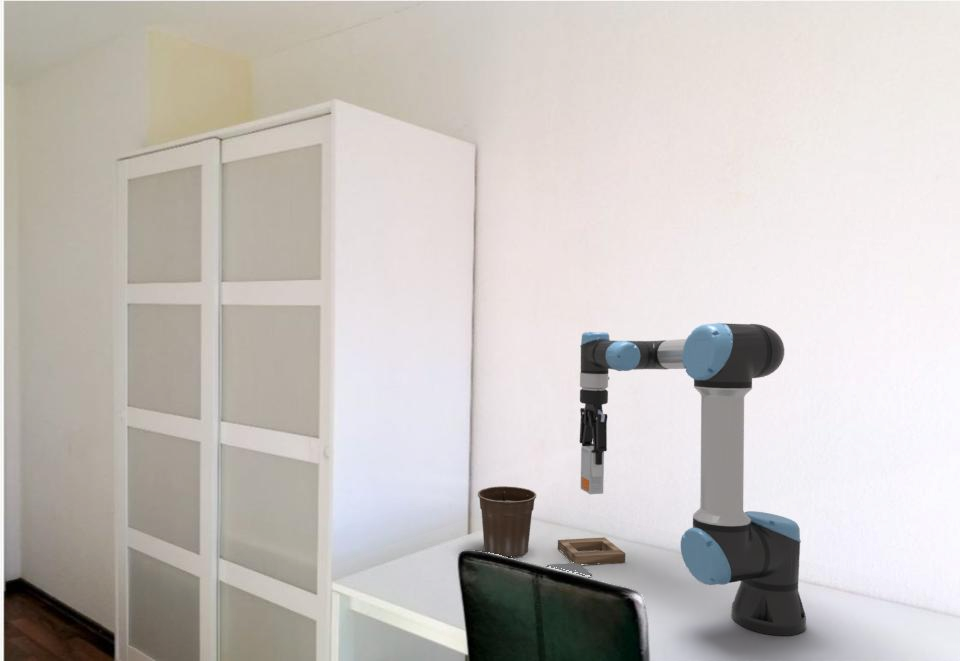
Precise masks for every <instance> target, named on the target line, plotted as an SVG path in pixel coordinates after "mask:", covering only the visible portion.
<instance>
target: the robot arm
mask: <svg viewBox="0 0 960 661" xmlns="http://www.w3.org/2000/svg"><path fill="white" fill-rule="evenodd" d="M580 340H581V342H580V372H579V387H580V388H581V389H579V403H581V404H584V407H581V408H580V409H579V410H580V411H579V412H580V422H579V423H580V424H579V425H580V427H579V443H580V444H581V447H582V446H593V448H594V450H592V451H591V452H592V477H602V461H603V452H604V453H605V452H607V450H608V448H607V446H608V444H607V443H608V439H607V438H608V436H607V430H608V428H607V426H608V425H607V424H608V423H607V422H608V414H607V413H604V410H603V405H606V404H608V401H609V391H608V390H607V388H609V380H610V376H609V370H615V371H617V372H625V371H626V372H629V371H632V370H633V371H635V370H685V372H686V374H687V376H689V377H690V378H692V379H693V388H694V389H695V390H696V391H697V392H698V393H699V394H700V396H701V399H700V400H701V402H700V406H701V407H700V410H701V411H700V420H701V421H700V496H699V497H700V500H699V501H700V505H699V506H700V507H699V508H698V510H696V511H695V512H694V513H693V514H692V527H690V528H688V529H687V530H685V531H684V533H683V534H682V536H681V539H680V552H681V557H682V559H683V562H684V565H685V567H686V568H687V569H688V571H689V573H690V574H691V576H693V578H695V579H696V580H697V581H698V582H700V583H702V584H704V585H708V586H715V585H719V586H724V585H727V584H731V583H736V582H740V583H739V586H738V588H737V590H736V594H735V596H734V600H733V602H732V603H731V614H730V615H731V617H732V618H731V619H733V621H734V622H736V623H737V624H738V625H740V626H741V627H744V628H746V629H748V630H751V631H754V632H757V633H761V634H765V635H771V636H795V635H799V634H801V633H803V632H804V631H805V630H806V627H807V617H806V616H807V614H806V613H805V609H804V605H803V601H802V599H801V595H800V592H799V575H800V574H799V573H800V554H801V553H800V552H801V542H802V540H801V537H800V536H801V535H800V534H801V533H800V532H801V531H800V526H799V525H798V523H797V522H796V521H795V520H793V519H790V518H787V517H785V516H782V515H779V514H778V515H777V514H773V513H768V512H764V511H753V510H749V511H745V512H744V476H745V475H744V472H745V470H744V469H745V468H744V467H745V466H744V463H745V462H744V461H745V460H744V459H745V456H744V453H745V451H744V450H745V449H744V448H745V446H744V445H745V443H744V442H745V436H744V435H745V397H746V395H747V394H748V393H749V392H751V390H753V379H759V378H765V377H766V376H769V375H771V374H773V373H775V371H777V370H778V369H779V367H780V366H781V365H782V362H783V360H784V358H785V346H784V342H783V340H782V338H781V336H780V335H779V334H778V333H777V332H776V331H775V330H773V329H772V328H771V327H769V326H766V325H763V324H760V323H759V324H758V323H749V324H748V323H726V322H725V323H724V322H723V323H721V322H716V323H706V324H702V325H699V326H697V327H695V328H694V329H693V330H692V331H691V332H690V333H689V335H688V336H687V337H686V338H685V339H684V338H681V339H668V340H665V339H664V340H611V339H610V334H609V333H608V332H604V331H584V332H583V333H582V334H581V339H580Z"/></svg>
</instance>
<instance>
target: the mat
mask: <svg viewBox="0 0 960 661" xmlns="http://www.w3.org/2000/svg"><path fill="white" fill-rule="evenodd" d="M546 565H547V566H546ZM546 565H545V568H547V567H549V566H551V568H554V567H555V569H559V570H562V571H566V570H569V571H572V573H574V572H578V573H576V574H579V575H582V576H585V575H590V576H592V575H593V574H592V573H591V572H590V571H588V570H587V568H585V567H584V565H581V564H580V563H572V562H568V563H567V562H566V563H555V564H546ZM556 567H557V568H556ZM561 568H562V569H561ZM563 569H565V570H563ZM575 570H576V571H575ZM569 571H567V572H569ZM580 573H582V574H580ZM583 574H585V575H583ZM592 577H593V576H592Z"/></svg>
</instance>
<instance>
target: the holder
mask: <svg viewBox="0 0 960 661" xmlns="http://www.w3.org/2000/svg"><path fill="white" fill-rule="evenodd" d="M557 549H558V550H559V549H560V550H561V551H562V552H563V553H564V554H565V555H566V556H567V557H568V558H569V559H570V560H571V561H572V562H574V563H580V564H596V565H599V564H598V563H611V564H622V563H621V562H625V563H626V552H624V551H623V550H622V549H621V548H619V547H618V546H616V545H615V544H614V543H612V542H611V541H610V540H609V539H608V538H606V537H605V536H604V537H602V536H601V537H587V538H572V539H571V538H567V539H558V540H557ZM600 549H601V550H600ZM560 550H559V551H560ZM583 550H590V551H583ZM561 551H560V552H561ZM562 552H561V553H562ZM563 553H562V554H563ZM564 554H563V555H564ZM565 555H564V556H565ZM566 556H565V557H566ZM567 557H566V558H567ZM568 558H567V559H568ZM569 559H568V560H569ZM570 560H569V561H570ZM571 561H570V562H571ZM572 562H571V563H572ZM619 562H620V563H619Z"/></svg>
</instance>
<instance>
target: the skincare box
mask: <svg viewBox="0 0 960 661" xmlns="http://www.w3.org/2000/svg"><path fill="white" fill-rule="evenodd" d="M580 450H581V451H580V455H581V456H580V490H582V491H583V492H585V493H587V494H589V495H602V494H604V474H605V473H604V471H605V469H604V468H605V465H604V464H605V463H604V461H605V451H604V452H603V461H602V477H592V452H591V451H592V450H594V448H593V446H582V445H581V449H580Z"/></svg>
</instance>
